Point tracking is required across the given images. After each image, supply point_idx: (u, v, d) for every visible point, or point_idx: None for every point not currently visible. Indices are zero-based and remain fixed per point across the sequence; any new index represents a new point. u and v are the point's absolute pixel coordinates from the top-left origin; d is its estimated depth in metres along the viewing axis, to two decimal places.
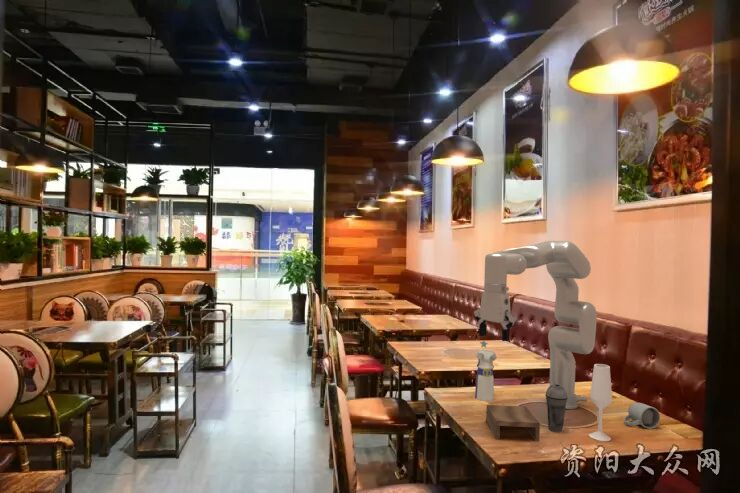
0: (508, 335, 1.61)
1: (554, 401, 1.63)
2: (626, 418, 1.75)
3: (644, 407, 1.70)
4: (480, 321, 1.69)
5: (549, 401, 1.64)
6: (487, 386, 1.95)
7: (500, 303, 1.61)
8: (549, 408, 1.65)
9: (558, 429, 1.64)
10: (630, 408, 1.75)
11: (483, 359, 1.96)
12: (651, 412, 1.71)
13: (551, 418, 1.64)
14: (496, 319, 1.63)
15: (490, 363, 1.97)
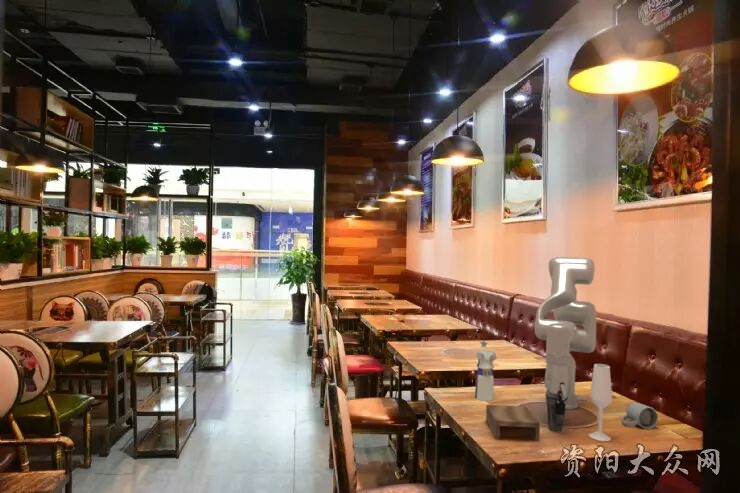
0: None
1: (554, 401, 1.63)
2: (624, 418, 1.75)
3: (642, 407, 1.70)
4: None
5: (549, 401, 1.64)
6: (487, 386, 1.95)
7: None
8: (549, 408, 1.65)
9: (558, 429, 1.64)
10: (628, 408, 1.75)
11: (483, 359, 1.96)
12: (649, 412, 1.71)
13: (551, 418, 1.64)
14: None
15: (490, 363, 1.97)
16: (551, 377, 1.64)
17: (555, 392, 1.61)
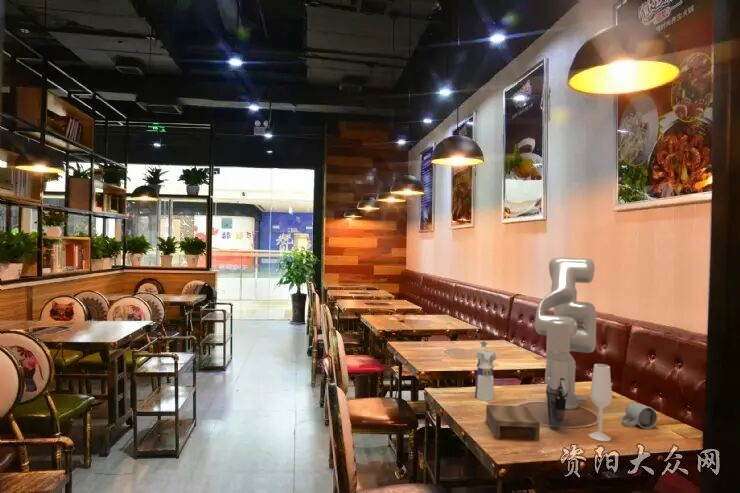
0: None
1: (554, 397, 1.64)
2: (623, 418, 1.75)
3: (641, 407, 1.70)
4: None
5: (550, 397, 1.65)
6: (487, 386, 1.95)
7: None
8: (549, 403, 1.66)
9: (558, 424, 1.64)
10: (627, 408, 1.75)
11: (483, 359, 1.96)
12: (648, 412, 1.71)
13: (552, 414, 1.65)
14: None
15: (490, 363, 1.97)
16: (551, 373, 1.64)
17: (555, 388, 1.62)
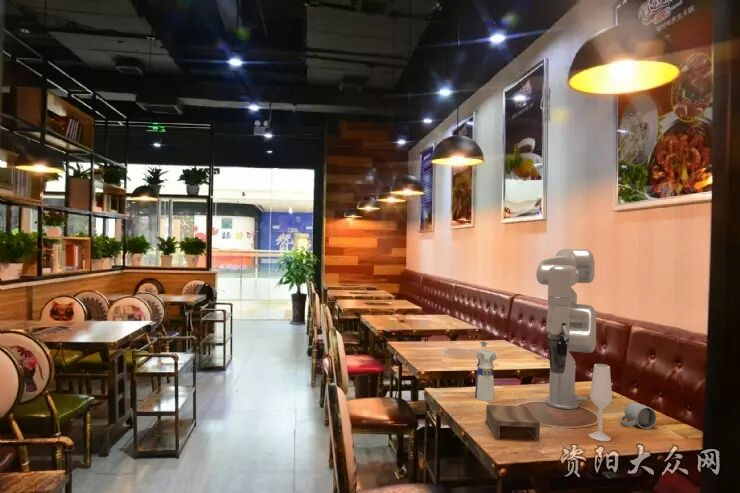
0: None
1: (556, 342, 1.63)
2: (622, 418, 1.75)
3: (640, 407, 1.70)
4: None
5: (551, 343, 1.65)
6: (487, 386, 1.95)
7: None
8: (551, 350, 1.65)
9: (560, 371, 1.64)
10: (626, 408, 1.75)
11: (483, 359, 1.96)
12: (647, 412, 1.71)
13: (553, 360, 1.65)
14: None
15: (490, 363, 1.97)
16: (553, 319, 1.64)
17: (557, 333, 1.61)
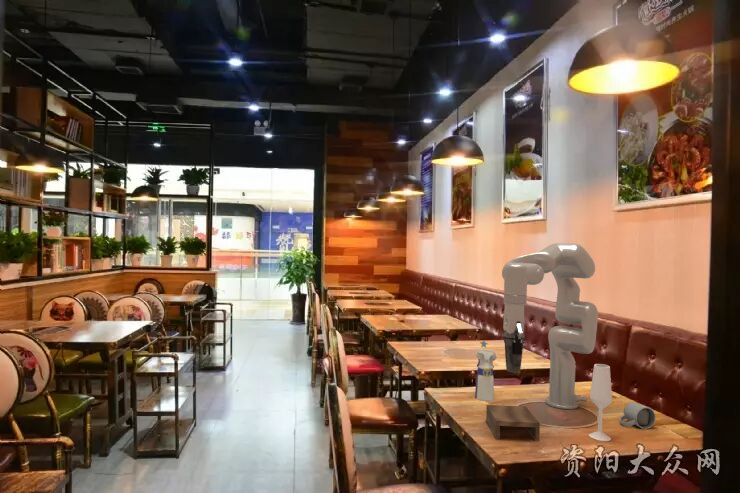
0: None
1: (511, 341, 1.61)
2: (622, 418, 1.75)
3: (639, 407, 1.70)
4: None
5: (506, 342, 1.62)
6: (487, 386, 1.95)
7: None
8: (506, 349, 1.63)
9: (515, 370, 1.61)
10: (626, 408, 1.75)
11: (483, 359, 1.96)
12: (646, 412, 1.71)
13: (509, 359, 1.62)
14: None
15: (490, 363, 1.97)
16: (508, 317, 1.61)
17: (511, 331, 1.59)
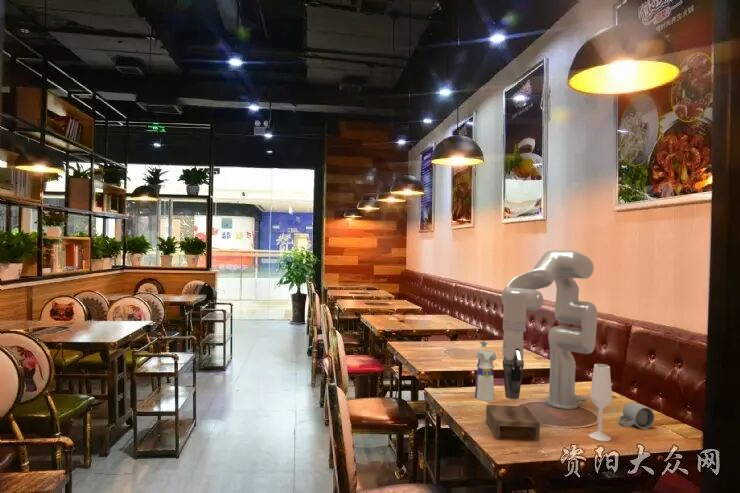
0: None
1: (510, 368, 1.61)
2: (621, 418, 1.75)
3: (638, 407, 1.70)
4: None
5: (505, 368, 1.62)
6: (487, 386, 1.95)
7: None
8: (505, 375, 1.63)
9: (514, 396, 1.61)
10: (625, 408, 1.75)
11: (483, 359, 1.96)
12: (646, 412, 1.71)
13: (508, 386, 1.62)
14: None
15: (490, 363, 1.97)
16: (507, 343, 1.61)
17: (510, 358, 1.59)
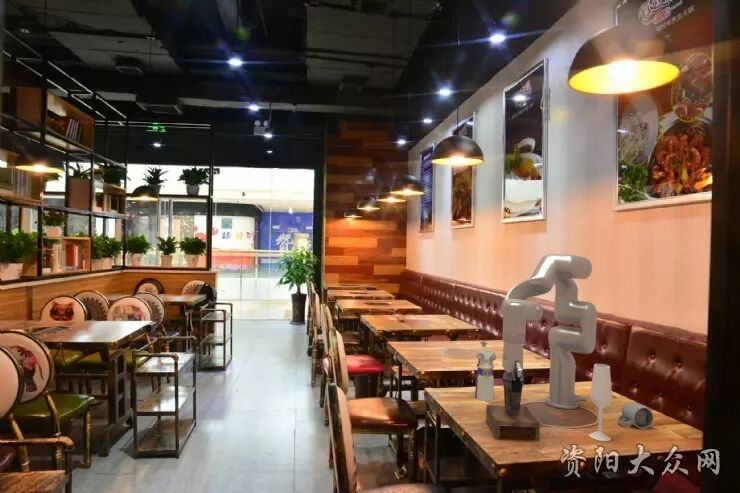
0: None
1: (510, 384, 1.61)
2: (619, 418, 1.75)
3: (637, 407, 1.70)
4: None
5: (506, 384, 1.62)
6: (487, 386, 1.95)
7: None
8: (506, 391, 1.63)
9: (514, 412, 1.62)
10: (623, 408, 1.75)
11: (483, 359, 1.96)
12: (644, 412, 1.71)
13: (508, 402, 1.62)
14: None
15: (490, 363, 1.97)
16: (507, 355, 1.61)
17: (510, 370, 1.59)
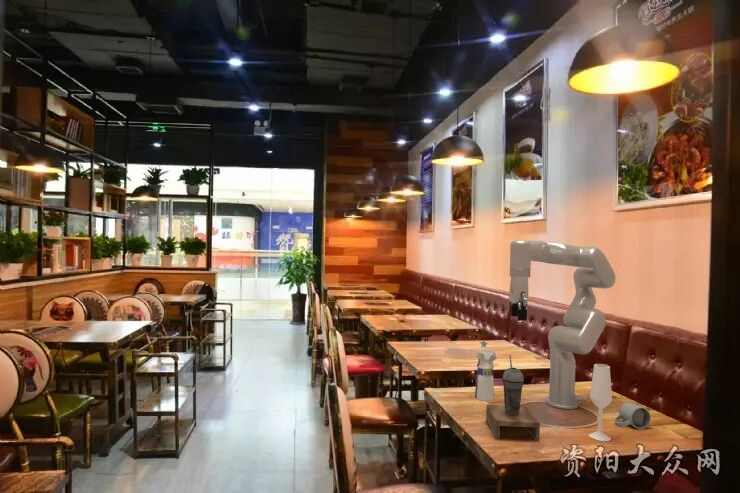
0: None
1: (510, 384, 1.61)
2: (617, 418, 1.74)
3: (635, 407, 1.70)
4: None
5: (506, 384, 1.62)
6: (487, 386, 1.95)
7: None
8: (505, 391, 1.63)
9: (514, 412, 1.62)
10: (621, 408, 1.75)
11: (483, 359, 1.96)
12: (642, 412, 1.70)
13: (508, 402, 1.62)
14: None
15: (490, 363, 1.97)
16: (513, 288, 1.78)
17: (517, 301, 1.76)
